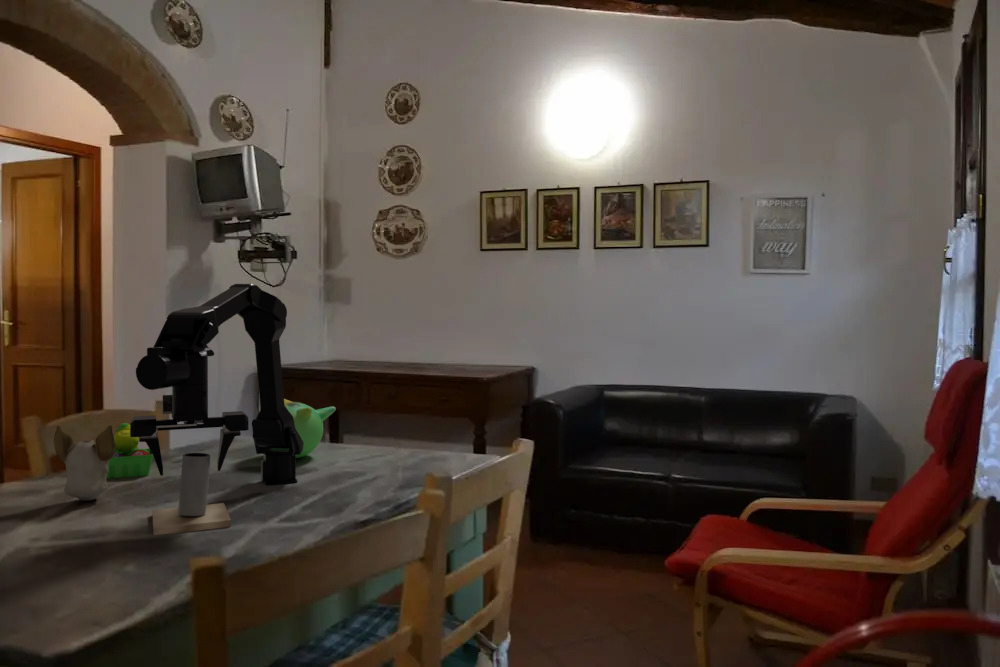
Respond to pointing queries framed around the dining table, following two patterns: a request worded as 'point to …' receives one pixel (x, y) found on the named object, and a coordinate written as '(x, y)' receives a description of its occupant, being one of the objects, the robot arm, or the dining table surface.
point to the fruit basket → (128, 456)
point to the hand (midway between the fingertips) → (190, 472)
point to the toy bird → (308, 423)
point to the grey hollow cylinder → (194, 484)
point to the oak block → (190, 520)
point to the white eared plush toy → (85, 463)
